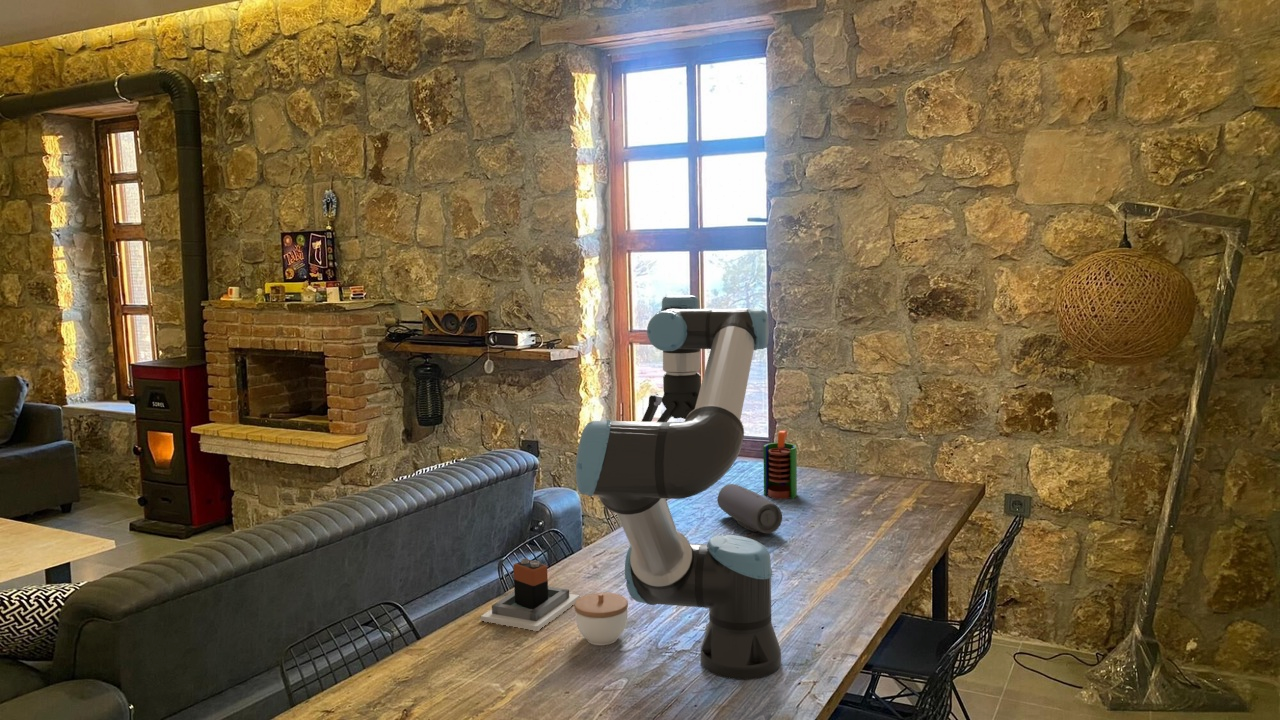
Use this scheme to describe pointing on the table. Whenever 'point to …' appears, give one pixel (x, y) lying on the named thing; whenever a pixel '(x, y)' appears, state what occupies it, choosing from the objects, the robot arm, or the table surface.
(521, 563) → the battery
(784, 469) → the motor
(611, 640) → the lidded jar
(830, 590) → the table surface
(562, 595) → the charging dock
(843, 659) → the table surface
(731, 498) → the bluetooth speaker
